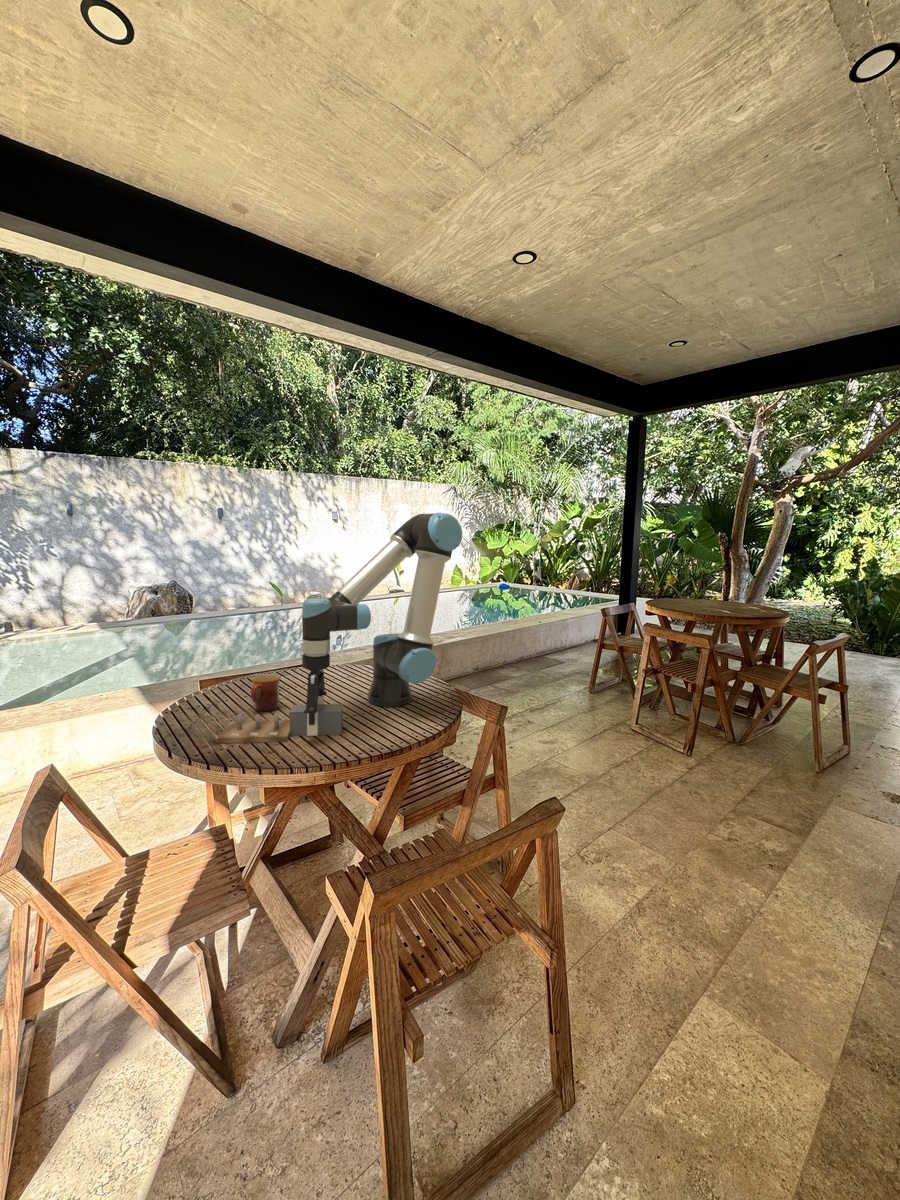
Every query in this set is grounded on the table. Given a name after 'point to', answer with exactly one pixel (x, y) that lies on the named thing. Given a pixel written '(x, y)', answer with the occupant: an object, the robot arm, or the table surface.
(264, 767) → the table surface
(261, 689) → the mug
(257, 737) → the board
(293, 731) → the block
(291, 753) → the table surface
